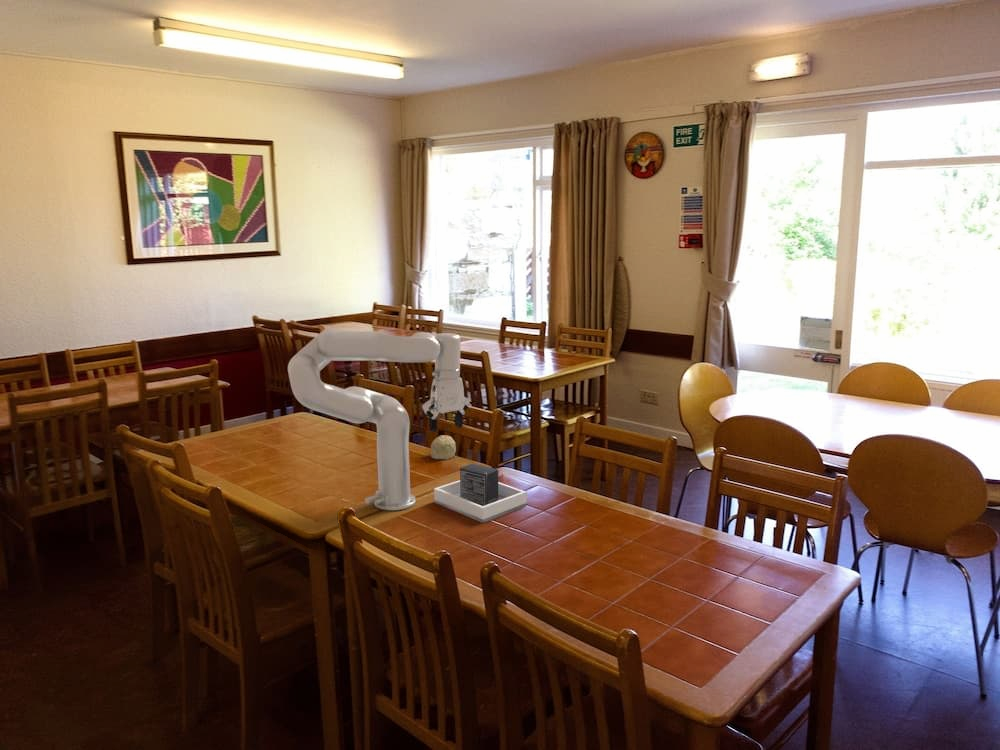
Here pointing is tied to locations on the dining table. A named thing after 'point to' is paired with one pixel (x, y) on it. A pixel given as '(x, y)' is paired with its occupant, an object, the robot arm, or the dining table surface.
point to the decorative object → (443, 447)
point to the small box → (479, 484)
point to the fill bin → (451, 499)
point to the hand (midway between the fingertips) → (445, 428)
